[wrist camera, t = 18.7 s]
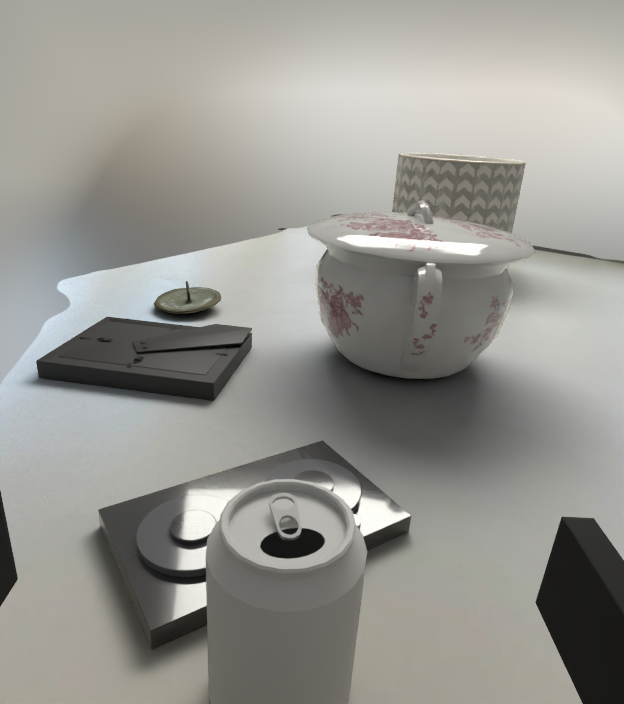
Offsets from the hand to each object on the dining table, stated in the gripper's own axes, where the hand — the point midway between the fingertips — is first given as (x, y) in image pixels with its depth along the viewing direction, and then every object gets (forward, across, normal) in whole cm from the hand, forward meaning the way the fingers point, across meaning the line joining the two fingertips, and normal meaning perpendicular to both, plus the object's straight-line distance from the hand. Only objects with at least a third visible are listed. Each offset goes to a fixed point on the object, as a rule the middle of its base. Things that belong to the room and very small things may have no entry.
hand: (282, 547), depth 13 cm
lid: (+72, -18, -20) cm, 77 cm away
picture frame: (+52, -18, -20) cm, 58 cm away
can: (+10, 0, -19) cm, 22 cm away
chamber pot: (+57, +14, -20) cm, 62 cm away
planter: (+106, +31, -20) cm, 112 cm away
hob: (+22, -2, -19) cm, 30 cm away
